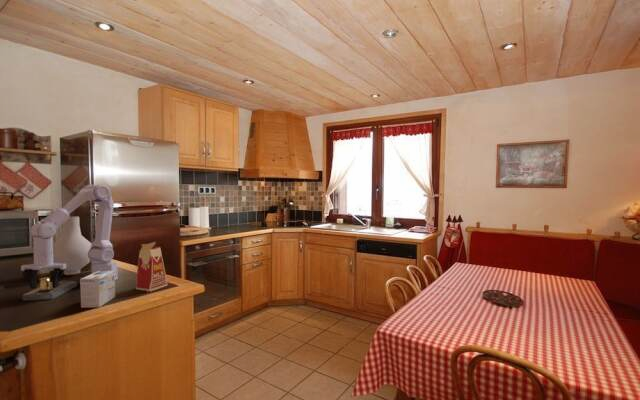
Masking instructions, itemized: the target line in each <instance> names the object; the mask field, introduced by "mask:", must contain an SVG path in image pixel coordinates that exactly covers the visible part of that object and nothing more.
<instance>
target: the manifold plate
mask: <svg viewBox="0 0 640 400" xmlns="http://www.w3.org/2000/svg"><path fill="white" fill-rule="evenodd" d="M77 285H78V283H77V281H76V280H75V281H74V280H72V281H59V284H58V287H56V288H53V286H52V281H50V291H49V292H44V293H40V289H39V287H36V288H34V289H31V290H30V291H29V292H25V293H24V294H22V301H23V302H24V301H40V300H41V301H42V300H43V301H44V300H54V299H55V298H57V297H59V296H61V295H63V294H65V293H67V292H68V291H70V290H73V289H74V288H76V287H77Z"/></svg>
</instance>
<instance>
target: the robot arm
mask: <svg viewBox="0 0 640 400" xmlns="http://www.w3.org/2000/svg"><path fill="white" fill-rule="evenodd" d="M88 201H93V202H94V203H95V204H96V205H97V206H98V213H97V220H96V229H95V239H94V241H93V242H91V248H90V250H89V251H88V258H89V259H90V263H91V266H90V267H91V274H93V273H94V272H97V271H115V281H116V280H118V279H119V277H118V264H117V262H116V261H112V260H113V258H114V256H115V251H114V249H113V248H114V247H113V246H114V245H113V244H112V242H110V241H111V238H110V237H111V230H112V222H113V213H114V203H115V202H114V200H113V197H112V190H111V188H109V187H108V186H107V185H106V184H86V185H85V186H84V187H83V188H81V189H80V190H79V192H78V193H77V194H76V195H75V196H73V198H71V199H70V200H69V201H68V202H67V203H66V204H65V205H64V206H63V207H61V208H55V209H52V210H50V214H48V215H47V216H46V217H45V218H42V219H40V222H38V223H37V222H36V223H35V224H33V225H32V226H31V229H30V230H29V232H28V233H29V234H30V236H32V239H33V243H32V245H33V264H31V263H29V264H23V265H21V266H20V268H21V269H20V271H21V272H22V273H21V274H22V276H23V277H24V278H25V279H26V281H27V283H28V285H29V287H30V290H34V289H37V286H38V285H37V284H38V283H37V282H38V281H37V280H38V272H39V271H42V270H46V271H47V270H48V271H49V270H50V271H49V273H50V276H51V277H50V278H51V282H52V286H53V288H56V287H58V284H59V282H61V281H60V280H61V278H62V276H63V275H64V271H65V268H66V264H62V263H53V244H54V241H53V240H54V239H53V237H54V236H55V235H56V233H57V230H58V229H59V227H62V224H63V223H64V222H65V221H67V220H68V219H69V218H70V217H71V213H72V212H74V211H75V210H76V209H78V208H79V207H80V206H82V205H83V204H84V203H85V202H88Z"/></svg>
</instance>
